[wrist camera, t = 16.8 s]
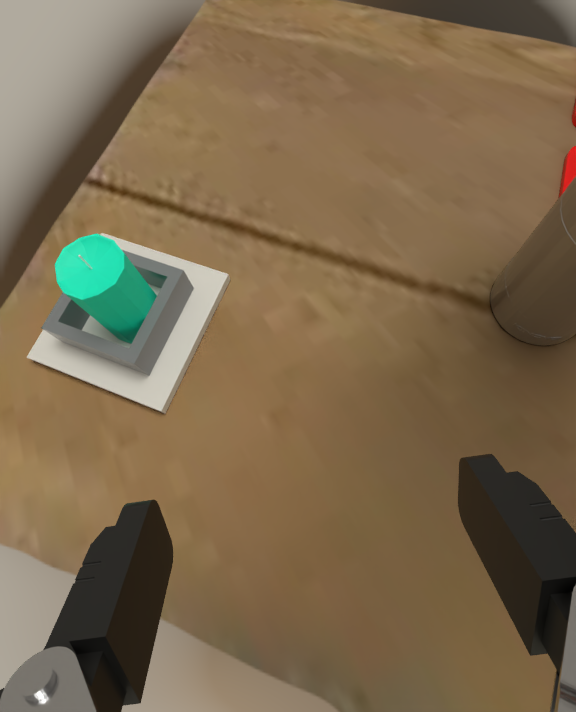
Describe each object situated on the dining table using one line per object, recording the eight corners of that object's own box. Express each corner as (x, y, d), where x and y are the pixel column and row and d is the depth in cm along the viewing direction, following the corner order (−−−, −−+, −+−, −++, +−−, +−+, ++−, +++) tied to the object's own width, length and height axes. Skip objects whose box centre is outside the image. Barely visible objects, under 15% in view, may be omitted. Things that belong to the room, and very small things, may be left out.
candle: (117, 290, 47) (53, 222, 36) (170, 293, 47) (123, 224, 36) (104, 342, 46) (33, 287, 34) (160, 345, 45) (106, 291, 34)
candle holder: (106, 239, 51) (85, 211, 47) (230, 279, 48) (220, 254, 44) (33, 360, 47) (1, 344, 42) (165, 413, 44) (146, 402, 39)
